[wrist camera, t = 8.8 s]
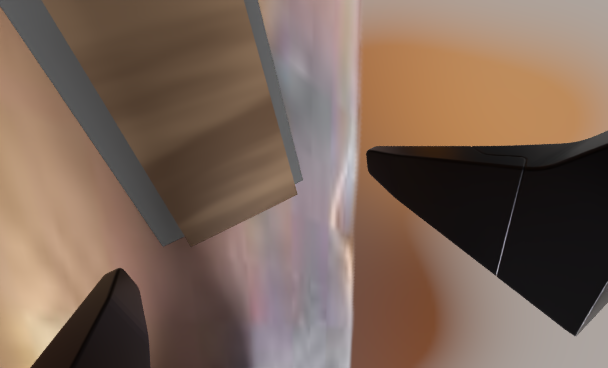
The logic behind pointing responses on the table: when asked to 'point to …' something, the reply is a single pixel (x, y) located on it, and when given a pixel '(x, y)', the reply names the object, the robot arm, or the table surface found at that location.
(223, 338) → the table surface
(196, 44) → the board
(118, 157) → the mat
